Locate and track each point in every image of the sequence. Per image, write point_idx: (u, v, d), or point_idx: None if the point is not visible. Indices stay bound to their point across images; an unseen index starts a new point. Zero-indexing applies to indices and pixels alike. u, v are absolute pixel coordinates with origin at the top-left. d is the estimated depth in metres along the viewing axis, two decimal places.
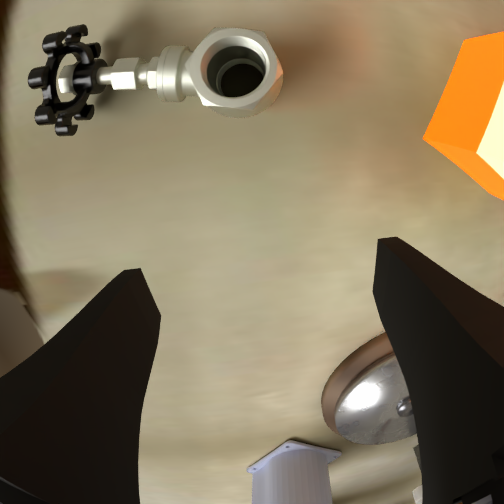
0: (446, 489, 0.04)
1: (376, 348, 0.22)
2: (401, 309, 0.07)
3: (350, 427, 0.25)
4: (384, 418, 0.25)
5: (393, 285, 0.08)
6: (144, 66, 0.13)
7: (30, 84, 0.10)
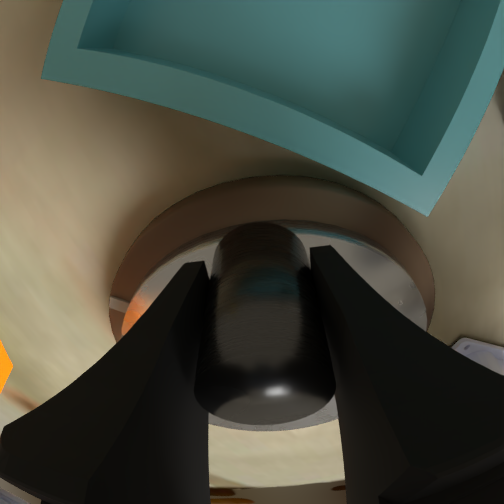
0: None
1: None
2: (325, 322, 0.08)
3: (330, 412, 0.16)
4: None
5: (319, 297, 0.08)
6: None
7: None
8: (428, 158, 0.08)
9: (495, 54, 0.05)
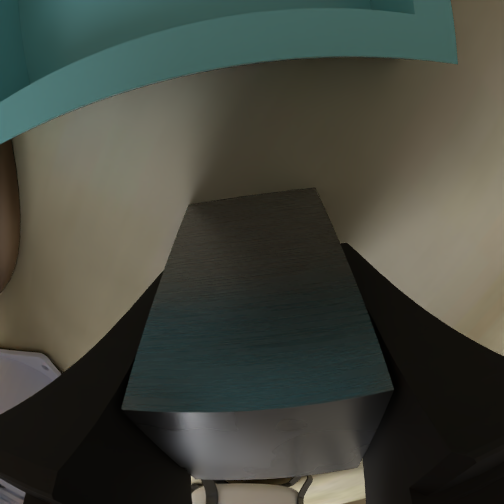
0: None
1: None
2: None
3: None
4: None
5: None
6: None
7: None
8: None
9: (150, 57, 0.05)
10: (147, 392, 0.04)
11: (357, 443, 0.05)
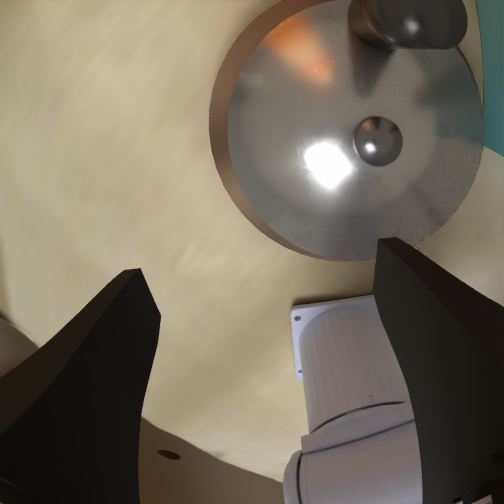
0: (446, 489, 0.04)
1: None
2: (400, 309, 0.07)
3: (407, 230, 0.16)
4: (403, 177, 0.15)
5: (393, 285, 0.08)
6: None
7: None
8: None
9: None
10: None
11: None
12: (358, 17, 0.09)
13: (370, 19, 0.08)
